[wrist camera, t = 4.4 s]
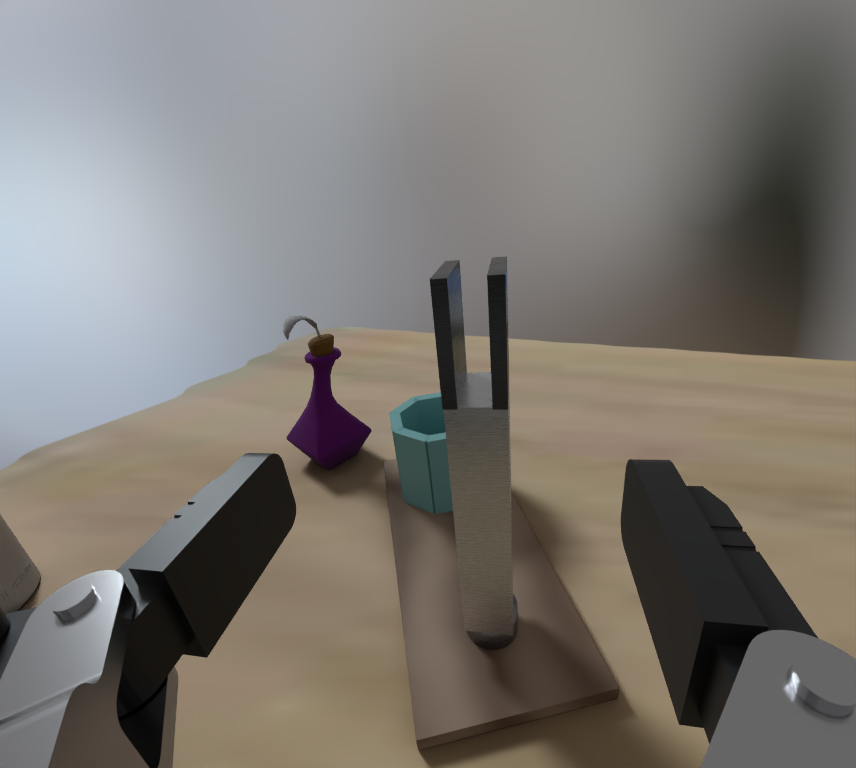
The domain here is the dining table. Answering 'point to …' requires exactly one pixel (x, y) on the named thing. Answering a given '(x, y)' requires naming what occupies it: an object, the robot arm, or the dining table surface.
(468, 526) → the grey long forked bar
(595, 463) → the dining table surface
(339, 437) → the perfume bottle
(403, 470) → the crock
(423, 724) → the walnut board
